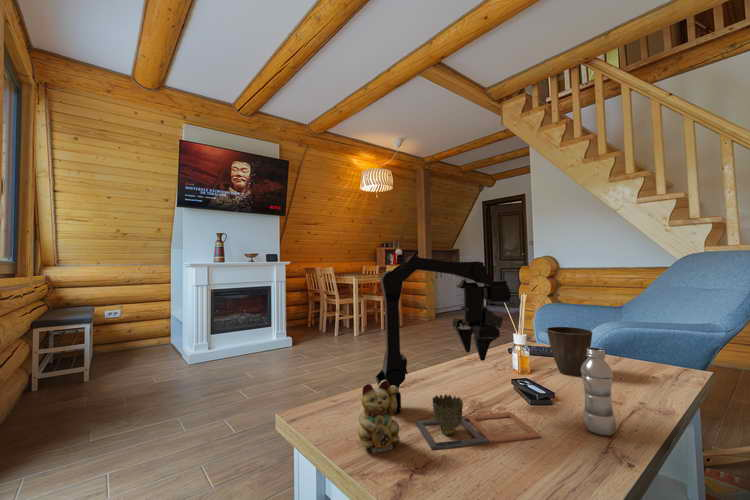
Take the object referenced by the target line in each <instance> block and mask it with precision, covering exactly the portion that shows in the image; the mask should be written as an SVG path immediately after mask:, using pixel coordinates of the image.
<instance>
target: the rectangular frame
mask: <svg viewBox="0 0 750 500" xmlns="http://www.w3.org/2000/svg"><path fill="white" fill-rule="evenodd" d="M501 418H509V419H510V420H511V421H513V422H514V423H515V424H516V425H518V426H519V427H520V428H521V429H523V430H524V431H525V433H515V434H503V435H497V436H496V435H495V436H493V435H491V434H490V433H489V432H488V431H487V430H486V429H485V428H484V427H483V426H482V425H481V424H480V423H479V422H478V421H481V420H490V419H491V420H492V419H501ZM415 425H416V426H417V429H418V430H419V431H420V433H421V435H422V436H423V438H424V440H425V441H426V443H427V444H428V446H429V448H430V449H431V450H432V451H433V450H440V449H441V450H442V449H450V448H451V449H452V448H459V447H460V448H462V447H467V446H468V447H469V446H480V445H487V444H495V443H496V444H497V443H504V442H505V443H506V442H513V441H524V440H533V439H541V438H542V437H541V436H542V434H540V433H539V432H537V431H536V430H535V429H533V428H532V426H531V427H530V426H529V425H528V424H527V423H525V422H524V421H523V420H522V419H520V418H519V417H518V416H517V415H515V414H514V413H512V412H510V411H508V412H507V411H506V412H496V413H494V412H493V413H484V414H474V415H473V414H472V415H464V416H463V415H462V418H461V422H460V425H461V426H462V427H463V428H464V429H465V430H466V431H467V432H468V433H469V434H470V435H471V437H472V438H469V439H459V440H449V441H441V442H439V441H438V442H436V441H435V439H434V438H433V436H432V435H431V433H430V432H429V430H428V429H427V428H426V426H428V425H429V426H430V425H432V426H433V425H438V424H437V422H436V420H435V418H433V419H421V420H420V419H419V420H415ZM479 433H480V434H479Z"/></svg>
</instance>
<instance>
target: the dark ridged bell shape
mask: <svg viewBox="0 0 750 500" xmlns="http://www.w3.org/2000/svg"><path fill="white" fill-rule="evenodd" d="M463 404H464V402H463V399H461V397H459V396H458V397H456V395H454V396H453V397H452V396H451V394H449V395H447V394H444V396H443V395H442V394H440V395H439V396H438V395H434V397H432V407H433V408H432V409H433V415H434V419H435V420H436V422H437V424H436V425H438V426H439V427H440V432H441V434H442V435H444V436H445V435H446V436H453V435H455V434H456V431H457V428H458V427H459V426H460V425H461V423H460V422H461V418H462V416H463V406H464V405H463Z"/></svg>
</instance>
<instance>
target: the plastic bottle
mask: <svg viewBox="0 0 750 500" xmlns="http://www.w3.org/2000/svg"><path fill="white" fill-rule="evenodd" d="M586 356H588V358H587V359H586V361H585V362H584V363H583V364H582V366H581V373H582V375H581V377H582V382H583V390H584V410H583V417H582V419H583V423H584V426H585V428H586V429H587V431H590V432H591V433H593V434H596V435H600V436H612V435H614V433H615V432H616V429H617V422H616V417H615V415H614V409H613V402H612V385H613V376H614V373H613V370H612V367H610V365H609V364H608V362H607V361H606V360H605V359H606V351H605V349H604V348H600V347H590V348H587V354H586Z"/></svg>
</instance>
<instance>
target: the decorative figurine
mask: <svg viewBox="0 0 750 500" xmlns="http://www.w3.org/2000/svg"><path fill="white" fill-rule="evenodd" d="M398 392H400V388H399V389H398V388H397V387H396V386H394V385H392V386H389V382H388V381H387V380H383V381H381V382H380V384H379V386H378V385H377V386H372V385H371V384H370V383H365V384H364V385H363V387H362V395H361V398H360V399H361V404H362V407H363V410H362V411H361V412H360V414H359V416H358V422H359V426H358V428H357V434H358V437H359V440H360V442H361V445H362V446H363V447H364V448H365V449H369V450H370V451H371V453H373V454H375V453H381V452H386V451H390V450H393V444H395V443H397V442H400V440H401V439H400V436H399V433H400V424H399V422H398V421H397V420H394V419H392V418H393V417H392V416H393V415H394V413H395V412H396V410H397V400H396V396H395V394H397V393H398Z"/></svg>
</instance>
